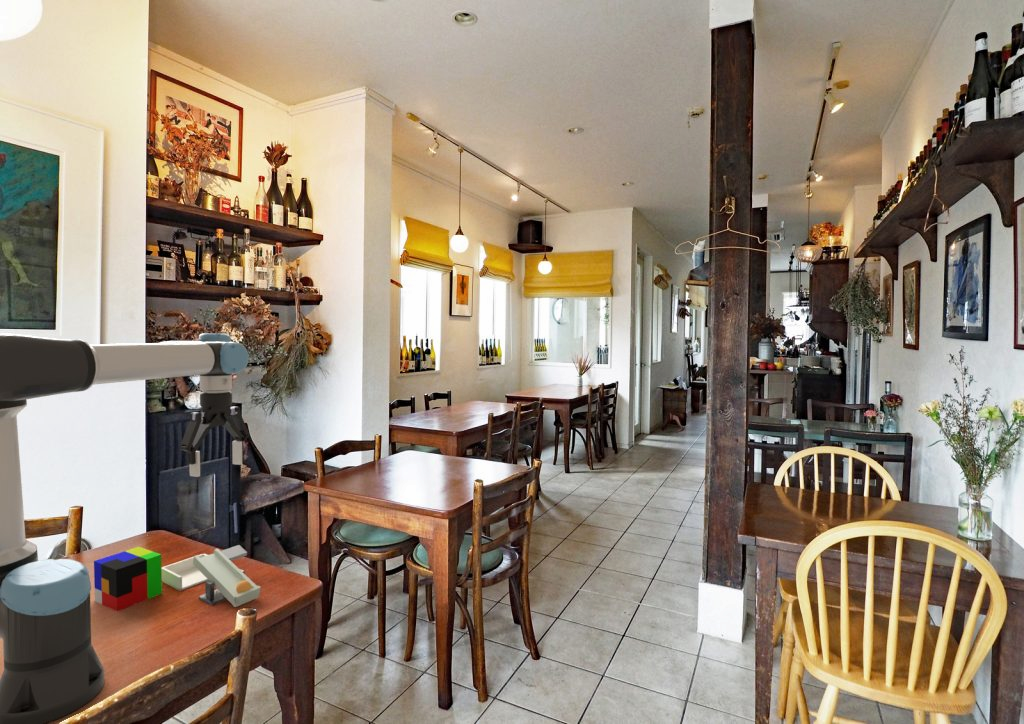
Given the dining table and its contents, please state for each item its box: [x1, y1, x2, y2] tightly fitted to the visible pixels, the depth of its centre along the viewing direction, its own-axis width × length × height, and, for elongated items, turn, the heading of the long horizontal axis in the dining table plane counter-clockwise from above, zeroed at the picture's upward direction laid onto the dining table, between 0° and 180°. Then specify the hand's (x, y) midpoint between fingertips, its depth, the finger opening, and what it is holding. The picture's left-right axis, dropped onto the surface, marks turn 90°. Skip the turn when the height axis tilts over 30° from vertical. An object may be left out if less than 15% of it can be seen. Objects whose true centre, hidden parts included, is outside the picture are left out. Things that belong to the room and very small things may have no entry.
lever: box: [193, 544, 262, 608], centre depth 135 cm, size 20×12×3 cm, turn 58°
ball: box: [236, 580, 251, 594], centre depth 128 cm, size 3×3×3 cm
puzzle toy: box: [93, 546, 163, 612], centre depth 130 cm, size 10×10×10 cm
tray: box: [161, 552, 209, 592], centre depth 141 cm, size 11×10×4 cm
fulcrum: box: [198, 568, 246, 607], centre depth 132 cm, size 6×10×4 cm, turn 148°
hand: (217, 470), depth 142 cm, fingers open, 13 cm apart
